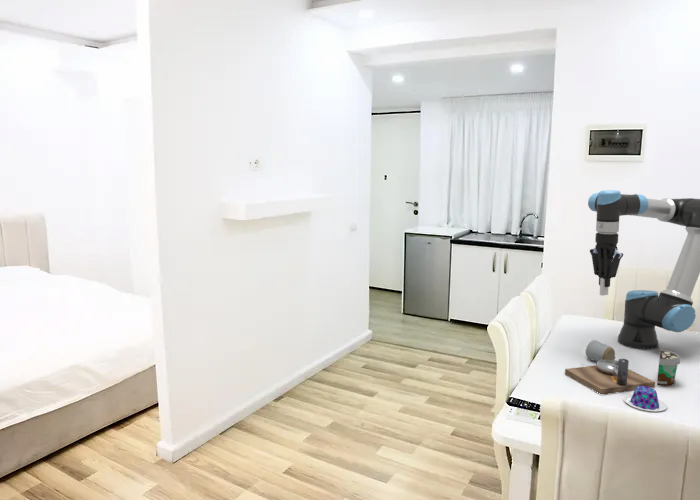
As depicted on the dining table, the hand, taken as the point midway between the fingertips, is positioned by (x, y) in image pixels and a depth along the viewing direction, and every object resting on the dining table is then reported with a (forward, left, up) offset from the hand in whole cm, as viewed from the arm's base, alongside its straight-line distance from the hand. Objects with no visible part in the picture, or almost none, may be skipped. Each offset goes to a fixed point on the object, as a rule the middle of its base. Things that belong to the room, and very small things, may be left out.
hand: (603, 294), depth 193 cm
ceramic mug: (-3, -2, -27) cm, 28 cm away
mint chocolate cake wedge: (-10, +21, -27) cm, 36 cm away
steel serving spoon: (+7, +16, -25) cm, 30 cm away
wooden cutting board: (+9, +15, -27) cm, 32 cm away
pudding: (+11, +33, -28) cm, 44 cm away
